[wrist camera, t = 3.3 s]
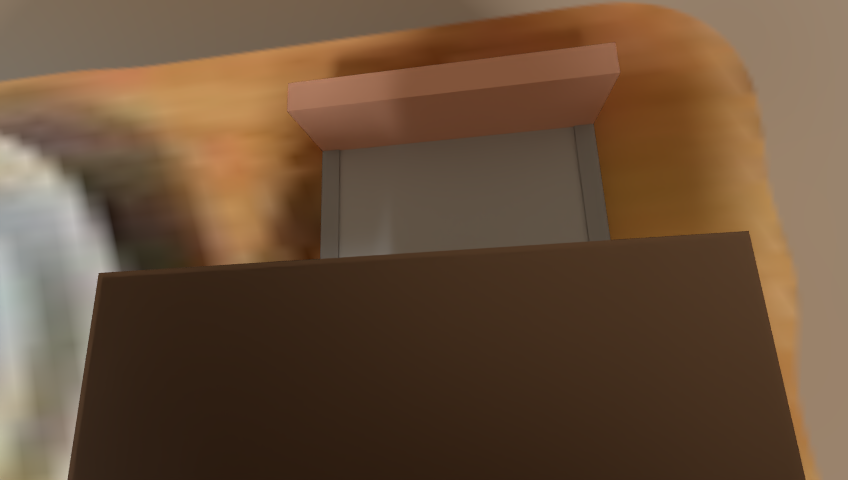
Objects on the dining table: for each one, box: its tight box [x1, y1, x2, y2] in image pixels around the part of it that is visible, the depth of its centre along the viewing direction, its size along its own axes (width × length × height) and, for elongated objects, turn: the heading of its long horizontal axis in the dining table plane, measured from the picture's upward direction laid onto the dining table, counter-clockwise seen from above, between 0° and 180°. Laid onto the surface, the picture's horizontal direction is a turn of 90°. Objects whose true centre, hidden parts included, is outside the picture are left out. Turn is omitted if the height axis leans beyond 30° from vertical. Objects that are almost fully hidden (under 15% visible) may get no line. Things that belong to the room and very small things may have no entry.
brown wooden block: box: [68, 231, 805, 480], centre depth 9 cm, size 6×6×13 cm
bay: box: [287, 42, 620, 259], centre depth 15 cm, size 19×12×4 cm, turn 2°
